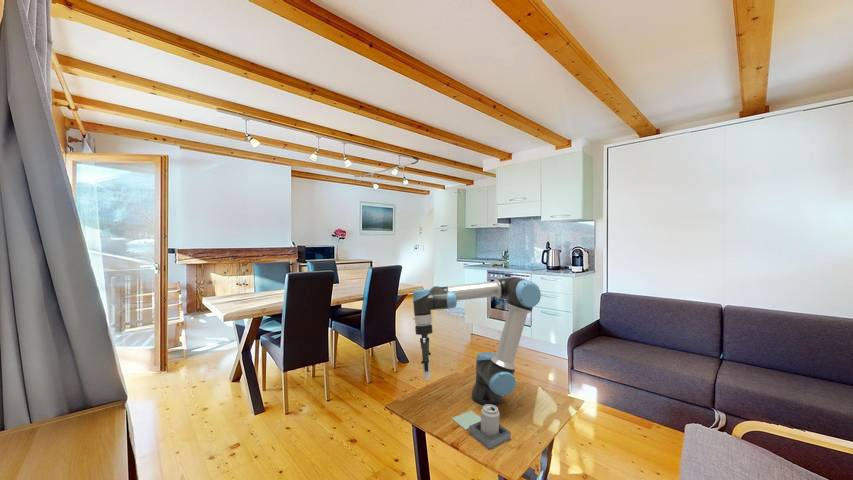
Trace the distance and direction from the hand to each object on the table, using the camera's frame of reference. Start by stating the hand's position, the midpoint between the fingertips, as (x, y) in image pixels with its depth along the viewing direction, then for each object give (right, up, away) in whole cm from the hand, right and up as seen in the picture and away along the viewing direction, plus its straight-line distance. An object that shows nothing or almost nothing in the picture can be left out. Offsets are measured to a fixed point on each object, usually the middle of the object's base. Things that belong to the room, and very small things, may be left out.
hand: (427, 374), depth 137 cm
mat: (+19, -23, +5) cm, 30 cm away
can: (+26, -23, -6) cm, 35 cm away
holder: (+26, -23, -6) cm, 35 cm away
